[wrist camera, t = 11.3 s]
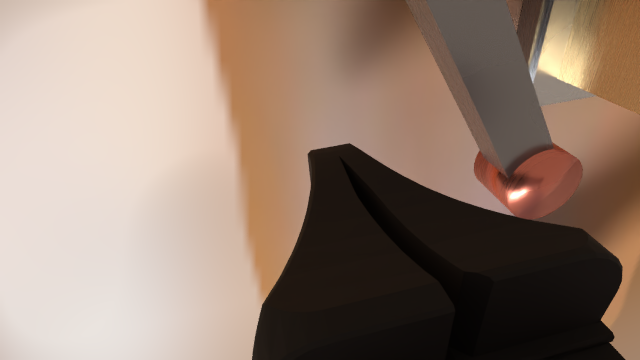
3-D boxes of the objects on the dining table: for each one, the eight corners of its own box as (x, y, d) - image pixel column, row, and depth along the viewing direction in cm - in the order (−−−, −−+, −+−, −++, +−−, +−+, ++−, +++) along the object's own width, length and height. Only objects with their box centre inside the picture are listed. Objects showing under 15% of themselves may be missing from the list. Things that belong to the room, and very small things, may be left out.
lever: (555, 151, 12) (600, 181, 11) (476, 203, 13) (509, 238, 11) (366, -433, 5) (423, -574, 4) (207, -265, 6) (202, -332, 4)
